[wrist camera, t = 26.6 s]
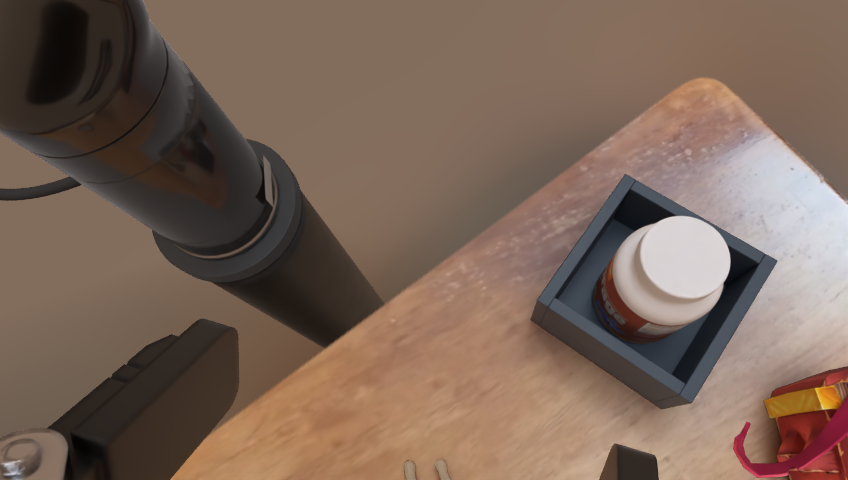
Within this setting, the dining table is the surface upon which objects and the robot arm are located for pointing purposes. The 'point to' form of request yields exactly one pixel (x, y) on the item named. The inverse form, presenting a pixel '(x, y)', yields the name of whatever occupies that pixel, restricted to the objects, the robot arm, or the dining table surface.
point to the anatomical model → (440, 466)
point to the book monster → (807, 429)
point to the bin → (671, 356)
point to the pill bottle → (662, 279)
